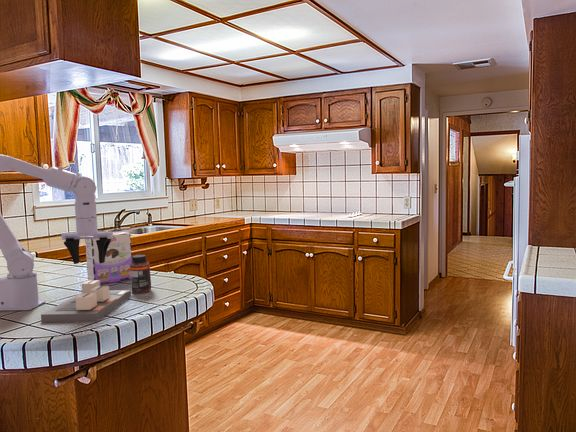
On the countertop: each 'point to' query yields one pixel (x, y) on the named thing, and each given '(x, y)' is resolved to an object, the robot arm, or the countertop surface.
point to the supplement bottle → (140, 274)
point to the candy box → (110, 259)
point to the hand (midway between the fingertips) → (89, 263)
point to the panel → (70, 314)
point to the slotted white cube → (86, 301)
